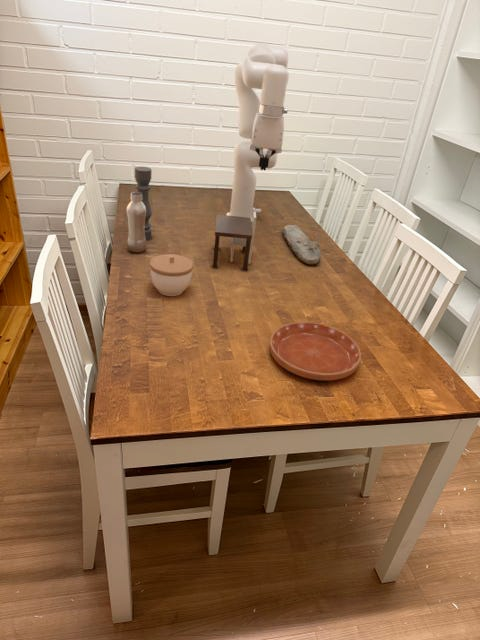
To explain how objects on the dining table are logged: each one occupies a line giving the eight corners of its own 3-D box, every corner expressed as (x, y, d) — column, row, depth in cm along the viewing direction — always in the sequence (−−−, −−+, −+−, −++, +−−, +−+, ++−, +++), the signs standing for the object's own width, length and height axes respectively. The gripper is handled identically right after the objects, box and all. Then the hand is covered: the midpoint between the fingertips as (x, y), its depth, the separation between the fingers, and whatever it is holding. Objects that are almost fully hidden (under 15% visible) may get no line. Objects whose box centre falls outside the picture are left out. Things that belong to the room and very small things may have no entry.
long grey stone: (299, 233, 200) (276, 234, 198) (301, 221, 197) (277, 221, 195) (326, 266, 170) (299, 266, 168) (328, 252, 167) (301, 252, 165)
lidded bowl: (174, 277, 151) (175, 244, 145) (200, 293, 143) (202, 259, 138) (140, 287, 142) (140, 253, 137) (166, 305, 135) (167, 270, 130)
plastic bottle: (150, 250, 166) (150, 193, 156) (138, 256, 161) (138, 198, 150) (134, 245, 168) (134, 189, 158) (123, 251, 163) (121, 193, 152)
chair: (249, 257, 170) (255, 211, 161) (250, 264, 165) (256, 217, 156) (230, 255, 170) (235, 209, 161) (230, 262, 164) (235, 215, 156)
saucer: (295, 394, 108) (298, 381, 106) (253, 339, 125) (255, 327, 123) (376, 376, 117) (380, 364, 115) (326, 327, 134) (329, 316, 132)
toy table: (246, 251, 175) (250, 217, 168) (247, 271, 160) (252, 235, 154) (214, 247, 174) (217, 214, 167) (212, 267, 159) (215, 231, 153)
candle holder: (154, 236, 177) (155, 168, 164) (146, 242, 172) (146, 172, 159) (139, 233, 178) (139, 165, 165) (130, 238, 173) (130, 168, 160)
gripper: (292, 111, 154) (283, 168, 164) (247, 106, 153) (240, 163, 163) (295, 116, 148) (285, 174, 158) (247, 110, 147) (241, 169, 157)
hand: (262, 169), depth 161 cm, fingers closed
